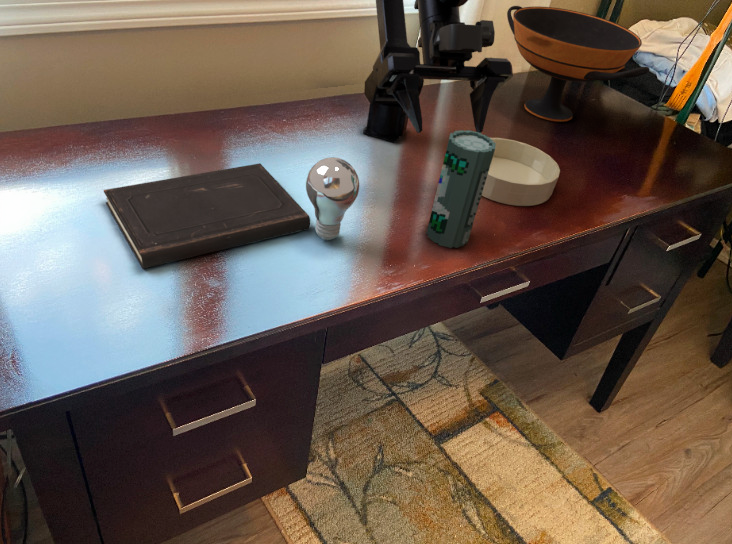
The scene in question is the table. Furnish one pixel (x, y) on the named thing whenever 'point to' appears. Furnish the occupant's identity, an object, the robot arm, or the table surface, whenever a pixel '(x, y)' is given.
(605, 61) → the footed terracotta bowl
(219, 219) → the hardcover book
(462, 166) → the can
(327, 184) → the light bulb
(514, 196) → the pan
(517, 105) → the table surface
